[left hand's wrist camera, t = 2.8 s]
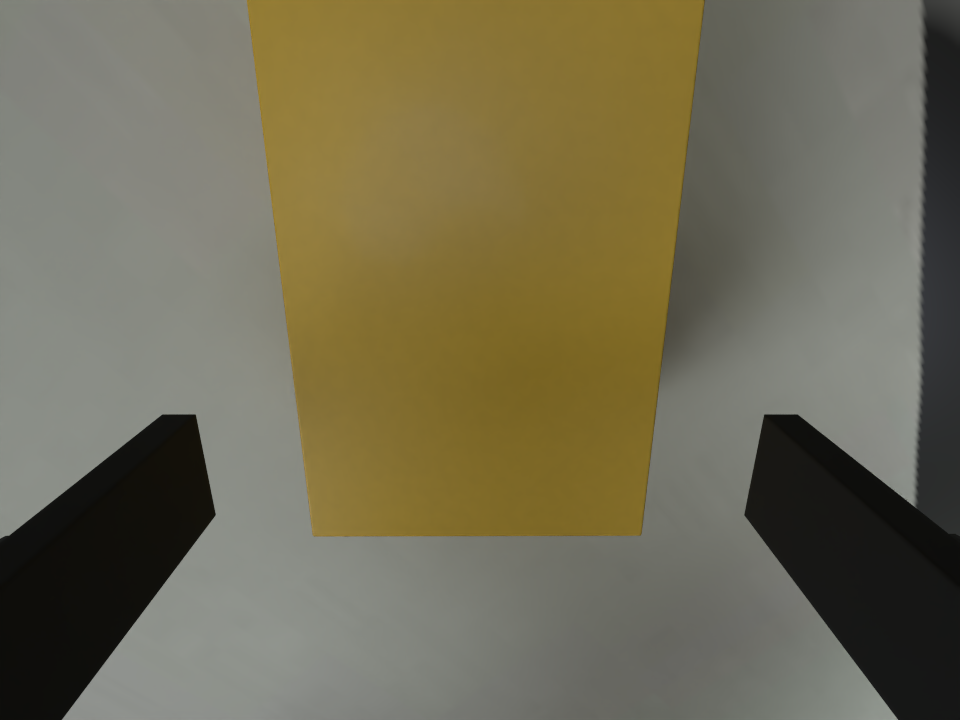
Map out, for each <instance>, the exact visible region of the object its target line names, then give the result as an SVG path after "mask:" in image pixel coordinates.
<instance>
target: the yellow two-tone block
mask: <svg viewBox="0 0 960 720" xmlns="http://www.w3.org/2000/svg"><path fill="white" fill-rule="evenodd" d="M704 3H705V0H247V5H248V13H249V21H250V29H251V37H252V45H253V54H254V62H255V70H256V78H257V86H258V94H259V102H260V110H261V119H262V127H263V135H264V143H265V151H266V159H267V167H268V175H269V184H270V192H271V200H272V208H273V216H274V224H275V232H276V241H277V249H278V257H279V265H280V273H281V281H282V289H283V297H284V306H285V314H286V322H287V330H288V338H289V346H290V354H291V362H292V371H293V379H294V387H295V395H296V403H297V411H298V419H299V428H300V436H301V444H302V452H303V460H304V468H305V476H306V484H307V493H308V501H309V509H310V517H311V525H312V533H313V536H640V535H641V533H642V525H643V516H644V508H645V500H646V491H647V483H648V474H649V466H650V457H651V449H652V441H653V432H654V424H655V415H656V407H657V398H658V390H659V382H660V373H661V365H662V356H663V348H664V340H665V331H666V323H667V314H668V306H669V297H670V289H671V281H672V272H673V264H674V255H675V247H676V238H677V230H678V222H679V213H680V205H681V196H682V188H683V180H684V171H685V163H686V154H687V146H688V137H689V129H690V121H691V112H692V104H693V95H694V87H695V78H696V70H697V62H698V53H699V45H700V36H701V28H702V19H703V11H704Z"/></svg>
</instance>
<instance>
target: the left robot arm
mask: <svg viewBox="0 0 960 720" xmlns="http://www.w3.org/2000/svg"><path fill="white" fill-rule="evenodd" d="M215 515H216V514H215V509H214V504H213V499H212V494H211V489H210V484H209V479H208V474H207V469H206V464H205V459H204V454H203V449H202V444H201V439H200V434H199V429H198V424H197V419H196V415H161V416H160V417H159V418H157V419H156V420H155V421H154V422H152V423H151V424H150V425H149V426H147V427H146V428H145V429H144V430H142V431H141V432H140V433H139V434H137V435H136V436H135V437H133V438H132V439H131V440H130V441H128V442H127V443H126V444H125V445H123V446H122V447H121V448H120V449H118V450H117V451H116V452H114V453H113V454H112V455H111V456H109V457H108V458H107V459H106V460H104V461H103V462H102V463H101V464H99V465H98V466H97V467H95V468H94V469H93V470H92V471H90V472H89V473H88V474H87V475H85V476H84V477H83V478H82V479H80V480H79V481H78V482H77V483H75V484H74V485H73V486H71V487H70V488H69V489H68V490H66V491H65V492H64V493H63V494H61V495H60V496H59V497H58V498H56V499H55V500H54V501H52V502H51V503H50V504H49V505H47V506H46V507H45V508H44V509H42V510H41V511H40V512H39V513H37V514H36V515H35V516H33V517H32V518H31V519H30V520H28V521H27V522H26V523H25V524H23V525H22V526H21V527H20V528H18V529H17V530H16V531H15V532H13V533H12V534H11V535H9V536H5V537H3V538H1V539H0V720H62V719H63V717H64V716H65V715H66V713H67V712H68V711H69V709H70V708H71V707H72V705H73V704H74V703H75V701H76V700H77V699H78V697H79V696H80V695H81V693H82V692H83V691H84V689H85V688H86V687H87V686H88V684H89V683H90V682H91V680H92V679H93V678H94V676H95V675H96V674H97V672H98V671H99V670H100V668H101V667H102V666H103V664H104V663H105V662H106V660H107V659H108V658H109V656H110V655H111V654H112V652H113V651H114V650H115V648H116V647H117V646H118V644H119V643H120V642H121V640H122V639H123V638H124V636H125V635H126V634H127V632H128V631H129V630H130V628H131V627H132V626H133V624H134V623H135V622H136V620H137V619H138V618H139V616H140V615H141V614H142V612H143V611H144V610H145V608H146V607H147V606H148V604H149V603H150V602H151V600H152V599H153V598H154V596H155V595H156V594H157V592H158V591H159V590H160V588H161V587H162V586H163V584H164V583H165V582H166V580H167V579H168V578H169V576H170V575H171V574H172V572H173V571H174V570H175V568H176V567H177V566H178V565H179V563H180V562H181V561H182V559H183V558H184V557H185V555H186V554H187V553H188V551H189V550H190V549H191V547H192V546H193V545H194V543H195V542H196V541H197V539H198V538H199V537H200V535H201V534H202V533H203V531H204V530H205V529H206V527H207V526H208V525H209V523H210V522H211V521H212V519H213V518H214V517H215ZM744 515H745V517H746V518H747V519H748V521H749V522H750V523H751V525H752V526H753V527H754V529H755V530H756V531H757V533H758V534H759V535H760V537H761V538H762V539H763V541H764V542H765V543H766V545H767V546H768V547H769V549H770V550H771V551H772V553H773V554H774V555H775V557H776V558H777V559H778V561H779V562H780V563H781V565H782V566H783V567H784V568H785V570H786V571H787V572H788V574H789V575H790V576H791V578H792V579H793V580H794V582H795V583H796V584H797V586H798V587H799V588H800V590H801V591H802V592H803V594H804V595H805V596H806V598H807V599H808V600H809V602H810V603H811V604H812V606H813V607H814V608H815V610H816V611H817V612H818V614H819V615H820V616H821V618H822V619H823V620H824V622H825V623H826V624H827V626H828V627H829V628H830V630H831V631H832V632H833V634H834V635H835V636H836V638H837V639H838V640H839V642H840V643H841V644H842V646H843V647H844V648H845V650H846V651H847V652H848V654H849V655H850V656H851V658H852V659H853V660H854V662H855V663H856V664H857V666H858V667H859V668H860V670H861V671H862V672H863V674H864V675H865V676H866V678H867V679H868V680H869V682H870V683H871V684H872V686H873V687H874V688H875V689H876V691H877V692H878V693H879V695H880V696H881V697H882V699H883V700H884V701H885V703H886V704H887V705H888V707H889V708H890V709H891V711H892V712H893V713H894V715H895V716H896V717H897V719H898V720H960V536H958V535H956V534H948V533H947V532H945V531H944V530H943V529H942V528H940V527H939V526H938V525H937V524H935V523H934V522H933V521H932V520H930V519H929V518H928V517H927V516H925V515H924V514H923V513H921V512H920V511H919V510H918V509H916V508H915V507H914V506H913V505H911V504H910V503H909V502H908V501H906V500H905V499H904V498H902V497H901V496H900V495H899V494H897V493H896V492H895V491H894V490H892V489H891V488H890V487H889V486H887V485H886V484H885V483H883V482H882V481H881V480H880V479H878V478H877V477H876V476H875V475H873V474H872V473H871V472H870V471H868V470H867V469H866V468H865V467H863V466H862V465H861V464H859V463H858V462H857V461H856V460H854V459H853V458H852V457H851V456H849V455H848V454H847V453H846V452H844V451H843V450H842V449H840V448H839V447H838V446H837V445H835V444H834V443H833V442H832V441H830V440H829V439H828V438H827V437H825V436H824V435H823V434H821V433H820V432H819V431H818V430H816V429H815V428H814V427H813V426H811V425H810V424H809V423H808V422H806V421H805V420H804V419H803V418H801V417H800V416H799V415H764V419H763V424H762V429H761V434H760V439H759V444H758V449H757V454H756V459H755V464H754V469H753V474H752V479H751V484H750V489H749V494H748V499H747V504H746V509H745V514H744Z"/></svg>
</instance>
